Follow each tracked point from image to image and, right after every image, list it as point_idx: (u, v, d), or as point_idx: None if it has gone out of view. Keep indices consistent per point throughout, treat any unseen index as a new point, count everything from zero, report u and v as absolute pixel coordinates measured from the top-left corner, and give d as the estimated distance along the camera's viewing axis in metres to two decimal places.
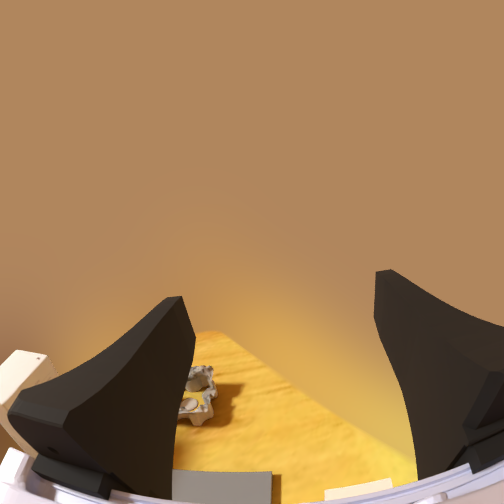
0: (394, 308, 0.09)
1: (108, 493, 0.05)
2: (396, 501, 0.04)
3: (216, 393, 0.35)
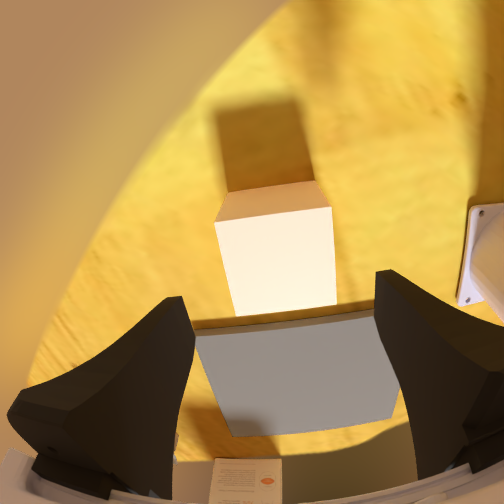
0: (394, 308, 0.09)
1: (108, 493, 0.05)
2: (396, 501, 0.04)
3: None
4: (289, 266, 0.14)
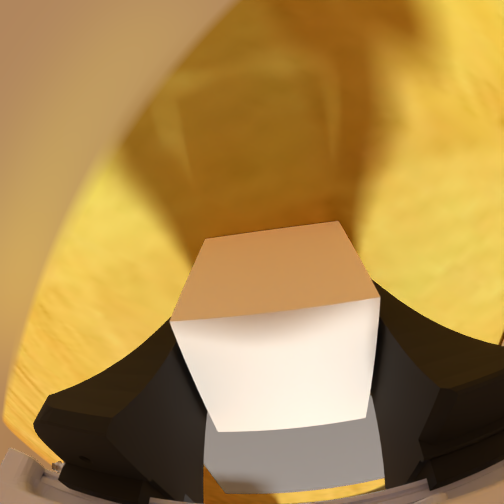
0: None
1: (147, 502, 0.05)
2: (396, 501, 0.04)
3: None
4: (299, 382, 0.08)
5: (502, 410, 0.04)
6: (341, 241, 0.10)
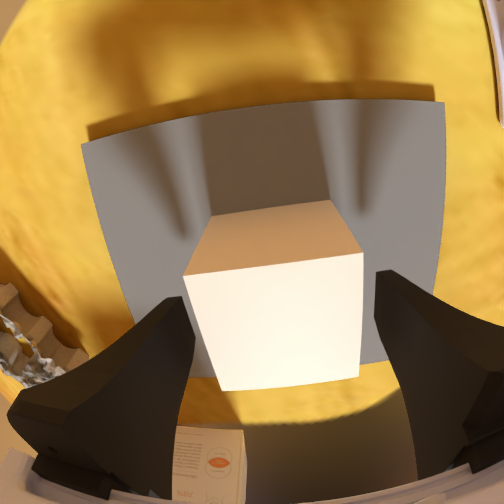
0: (394, 308, 0.09)
1: (108, 493, 0.05)
2: (396, 501, 0.04)
3: None
4: (296, 335, 0.09)
5: None
6: (331, 214, 0.11)
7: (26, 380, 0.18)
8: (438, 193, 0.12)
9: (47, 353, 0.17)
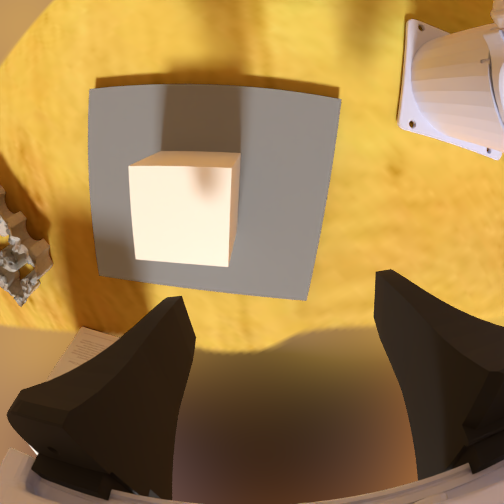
0: (394, 308, 0.09)
1: (108, 493, 0.05)
2: (396, 501, 0.04)
3: None
4: (186, 219, 0.15)
5: None
6: (233, 157, 0.17)
7: None
8: (326, 164, 0.18)
9: None
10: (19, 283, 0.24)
